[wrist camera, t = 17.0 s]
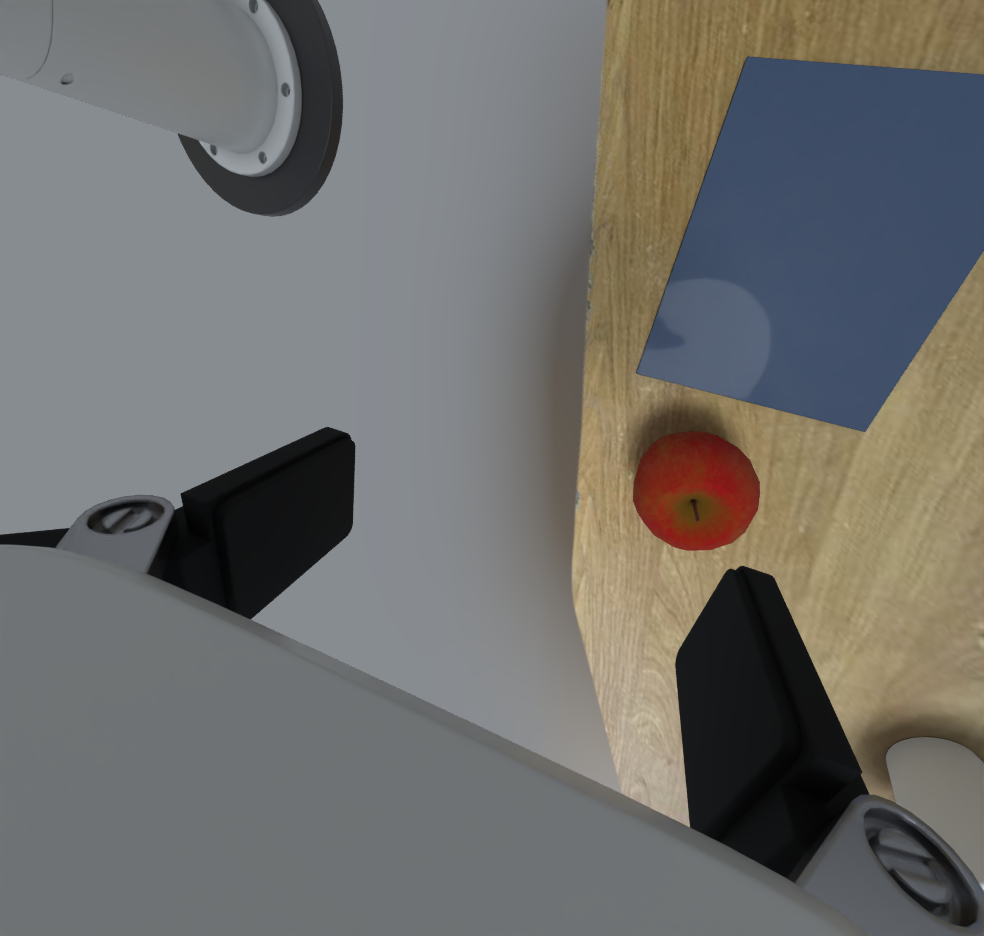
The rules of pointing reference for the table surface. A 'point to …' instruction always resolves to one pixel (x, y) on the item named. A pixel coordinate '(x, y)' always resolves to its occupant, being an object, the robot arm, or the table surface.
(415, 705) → the robot arm
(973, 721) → the table surface
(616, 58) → the table surface
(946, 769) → the cup
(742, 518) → the apple
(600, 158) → the table surface
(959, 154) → the napkin
